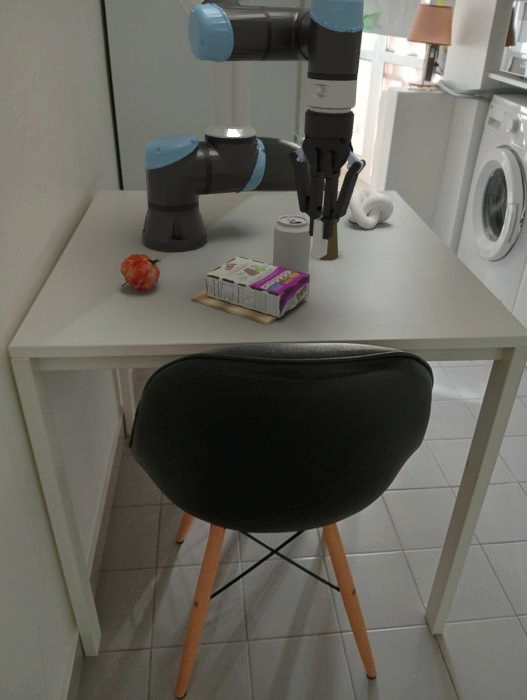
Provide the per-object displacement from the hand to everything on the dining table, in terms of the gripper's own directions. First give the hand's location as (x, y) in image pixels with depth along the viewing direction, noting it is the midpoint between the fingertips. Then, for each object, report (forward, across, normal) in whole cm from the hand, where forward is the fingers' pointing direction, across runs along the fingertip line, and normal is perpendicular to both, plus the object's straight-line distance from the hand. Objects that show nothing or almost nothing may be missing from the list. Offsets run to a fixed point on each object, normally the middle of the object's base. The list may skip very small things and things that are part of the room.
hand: (319, 255), depth 104 cm
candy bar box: (+9, -4, 0) cm, 10 cm away
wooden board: (+12, -14, 0) cm, 19 cm away
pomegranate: (+12, -34, -9) cm, 37 cm away
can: (+12, -14, +15) cm, 24 cm away
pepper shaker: (+12, -14, +29) cm, 34 cm away
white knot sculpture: (+12, -16, +55) cm, 59 cm away
